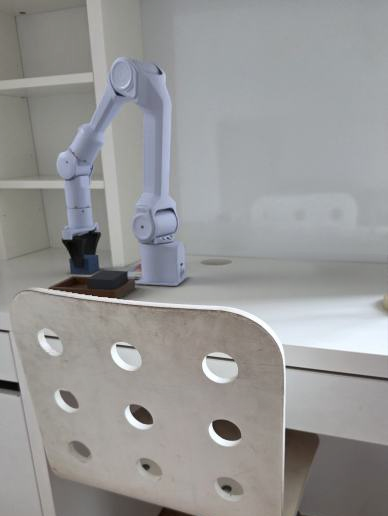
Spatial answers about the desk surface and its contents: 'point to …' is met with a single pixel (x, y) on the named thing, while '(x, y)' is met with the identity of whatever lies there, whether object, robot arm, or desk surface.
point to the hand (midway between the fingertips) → (84, 264)
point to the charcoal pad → (107, 280)
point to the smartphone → (135, 272)
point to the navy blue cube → (86, 265)
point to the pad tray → (80, 286)
